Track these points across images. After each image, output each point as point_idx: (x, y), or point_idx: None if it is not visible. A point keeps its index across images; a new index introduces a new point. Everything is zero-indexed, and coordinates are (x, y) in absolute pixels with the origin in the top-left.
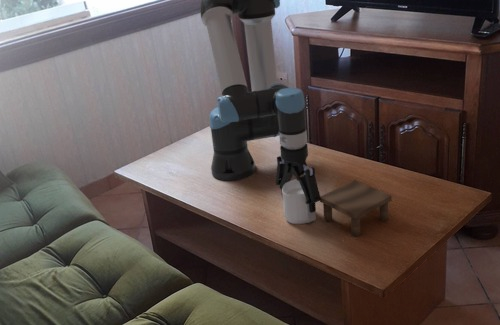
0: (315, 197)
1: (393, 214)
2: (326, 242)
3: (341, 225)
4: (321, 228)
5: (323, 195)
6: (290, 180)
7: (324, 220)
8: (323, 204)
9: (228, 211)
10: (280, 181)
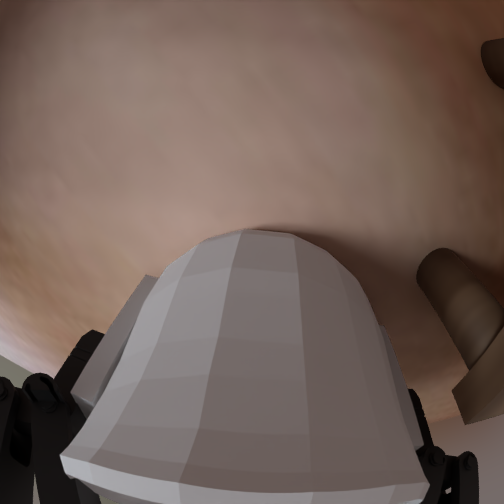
0: (450, 496)
1: None
2: (449, 380)
3: (492, 279)
4: (421, 340)
5: (496, 398)
6: (71, 478)
7: (421, 289)
8: (468, 368)
9: (42, 362)
10: (24, 430)
